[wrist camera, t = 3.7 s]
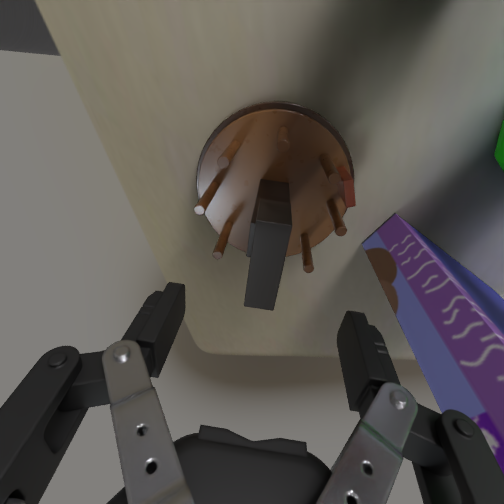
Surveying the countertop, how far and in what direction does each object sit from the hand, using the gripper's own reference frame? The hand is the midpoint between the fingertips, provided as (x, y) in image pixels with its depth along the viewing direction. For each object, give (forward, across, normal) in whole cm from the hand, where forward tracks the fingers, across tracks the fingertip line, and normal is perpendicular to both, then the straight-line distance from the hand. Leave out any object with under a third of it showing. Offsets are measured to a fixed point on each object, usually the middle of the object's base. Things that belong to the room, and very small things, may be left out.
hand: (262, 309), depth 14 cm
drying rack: (+17, 0, 0) cm, 17 cm away
